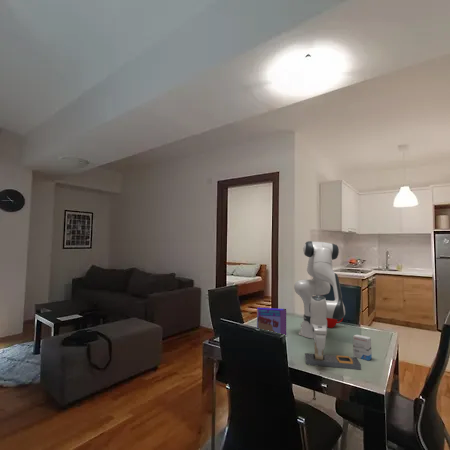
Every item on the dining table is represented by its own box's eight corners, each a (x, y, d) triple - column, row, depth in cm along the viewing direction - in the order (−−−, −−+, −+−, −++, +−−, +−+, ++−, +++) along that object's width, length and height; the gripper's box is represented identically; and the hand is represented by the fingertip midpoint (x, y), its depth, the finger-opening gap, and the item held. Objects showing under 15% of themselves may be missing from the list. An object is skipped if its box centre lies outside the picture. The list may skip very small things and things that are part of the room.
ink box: (372, 358, 165) (371, 337, 166) (368, 361, 162) (368, 339, 163) (356, 354, 171) (356, 333, 172) (352, 356, 168) (352, 335, 169)
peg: (314, 360, 161) (314, 341, 162) (322, 361, 160) (322, 342, 161) (315, 363, 157) (315, 344, 158) (323, 364, 156) (323, 344, 157)
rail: (304, 357, 165) (304, 352, 165) (356, 362, 160) (356, 356, 160) (306, 364, 155) (306, 359, 155) (360, 369, 150) (360, 364, 150)
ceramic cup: (345, 330, 223) (345, 316, 223) (321, 328, 225) (321, 315, 226) (341, 325, 235) (341, 312, 236) (319, 324, 238) (319, 311, 239)
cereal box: (256, 349, 177) (257, 308, 179) (257, 346, 182) (257, 307, 184) (286, 351, 175) (286, 310, 177) (285, 348, 180) (285, 308, 182)
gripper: (310, 321, 171) (311, 345, 170) (314, 331, 151) (314, 358, 150) (322, 322, 170) (322, 346, 169) (327, 331, 150) (327, 360, 149)
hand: (318, 352), depth 159 cm, fingers open, 7 cm apart
